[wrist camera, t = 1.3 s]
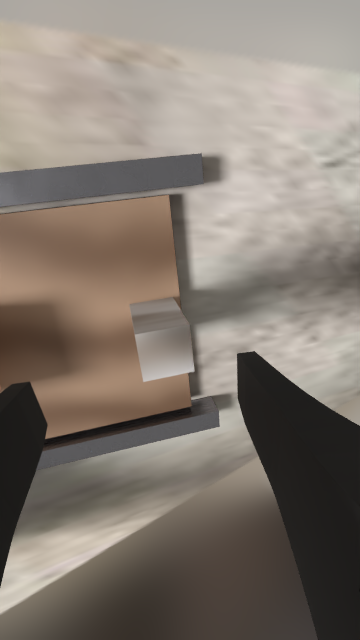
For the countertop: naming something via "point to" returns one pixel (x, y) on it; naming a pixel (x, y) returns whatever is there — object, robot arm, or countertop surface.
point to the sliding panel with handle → (94, 312)
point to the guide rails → (95, 183)
